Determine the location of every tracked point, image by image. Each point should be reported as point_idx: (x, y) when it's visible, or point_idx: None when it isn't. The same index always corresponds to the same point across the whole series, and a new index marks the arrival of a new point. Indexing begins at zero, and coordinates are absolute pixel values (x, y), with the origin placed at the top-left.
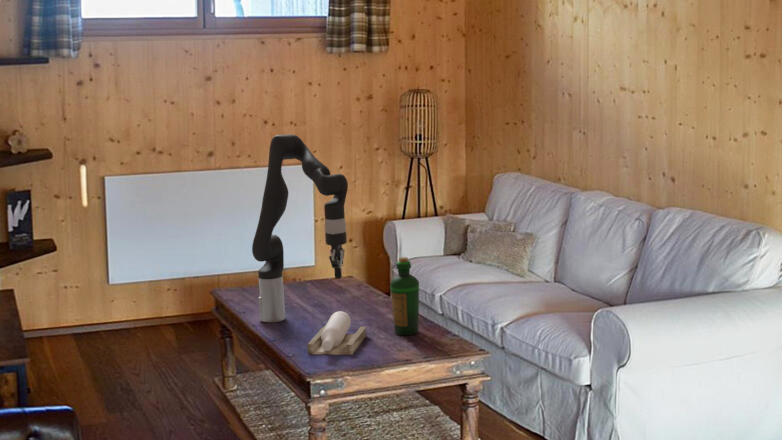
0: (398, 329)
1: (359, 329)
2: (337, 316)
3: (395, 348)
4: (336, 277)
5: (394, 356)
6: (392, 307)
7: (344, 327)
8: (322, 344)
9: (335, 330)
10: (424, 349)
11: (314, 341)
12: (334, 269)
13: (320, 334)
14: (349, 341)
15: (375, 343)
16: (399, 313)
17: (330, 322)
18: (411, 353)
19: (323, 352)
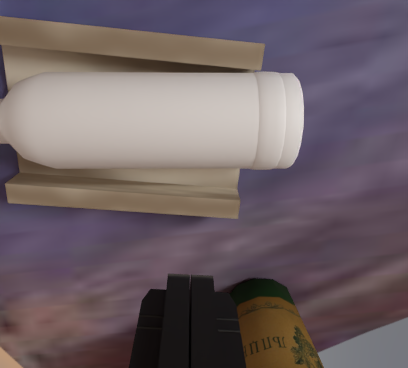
0: (234, 300)
1: (203, 201)
2: (208, 137)
3: (106, 291)
4: (165, 290)
5: (32, 296)
6: (269, 342)
7: (134, 168)
8: None
9: (20, 152)
10: (102, 350)
11: (24, 42)
12: (157, 361)
13: (135, 52)
14: (46, 188)
15: (153, 236)
16: None
17: (111, 116)
18: (65, 328)
19: (8, 85)
